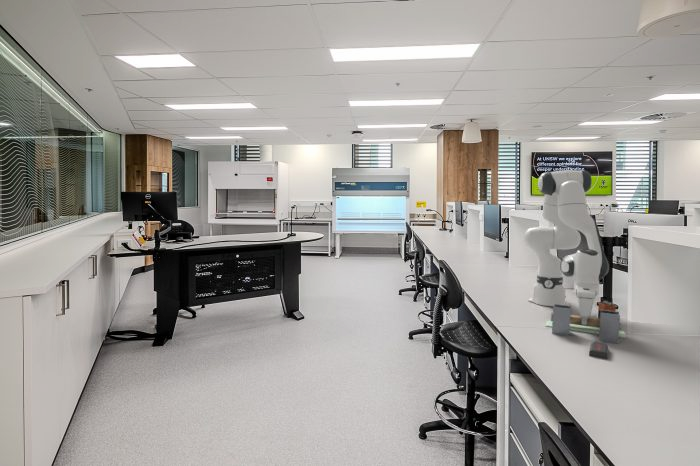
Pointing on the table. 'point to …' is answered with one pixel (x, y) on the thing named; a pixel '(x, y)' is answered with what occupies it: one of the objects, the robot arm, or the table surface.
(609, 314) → the stand
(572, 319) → the rail
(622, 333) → the mat
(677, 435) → the table surface
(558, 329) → the stand
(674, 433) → the table surface
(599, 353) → the usb drive
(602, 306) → the battery
